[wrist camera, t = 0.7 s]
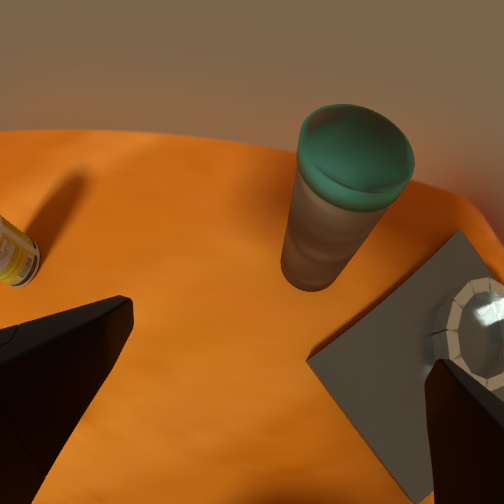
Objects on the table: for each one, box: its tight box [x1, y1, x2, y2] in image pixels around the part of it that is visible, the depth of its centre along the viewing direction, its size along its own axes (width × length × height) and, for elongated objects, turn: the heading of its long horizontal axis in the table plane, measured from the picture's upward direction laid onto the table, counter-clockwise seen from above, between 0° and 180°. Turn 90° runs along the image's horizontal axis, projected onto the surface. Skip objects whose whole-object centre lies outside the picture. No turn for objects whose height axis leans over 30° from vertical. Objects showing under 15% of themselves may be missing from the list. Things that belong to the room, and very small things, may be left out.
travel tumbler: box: [281, 104, 415, 292], centre depth 17 cm, size 5×5×13 cm
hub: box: [306, 229, 504, 504], centre depth 18 cm, size 15×17×3 cm
